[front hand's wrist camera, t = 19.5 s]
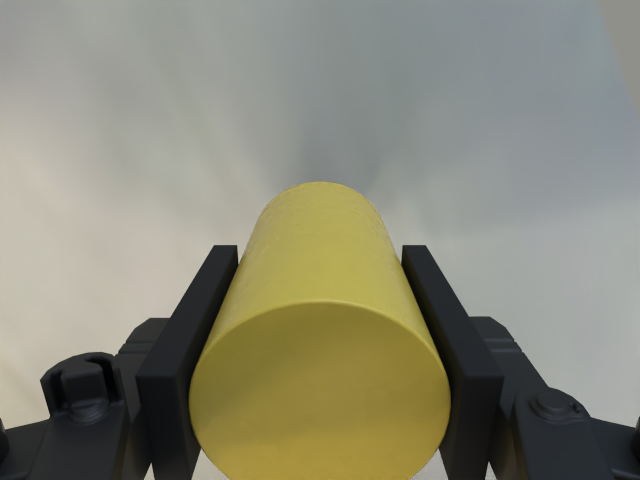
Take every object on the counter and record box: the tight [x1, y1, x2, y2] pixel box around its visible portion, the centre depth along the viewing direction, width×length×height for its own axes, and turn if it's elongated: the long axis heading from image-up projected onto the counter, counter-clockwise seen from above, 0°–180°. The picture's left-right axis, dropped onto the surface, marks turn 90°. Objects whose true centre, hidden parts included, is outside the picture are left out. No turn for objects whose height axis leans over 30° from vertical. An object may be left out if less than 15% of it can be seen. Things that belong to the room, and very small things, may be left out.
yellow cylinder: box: [188, 182, 451, 480], centre depth 13 cm, size 5×5×9 cm
